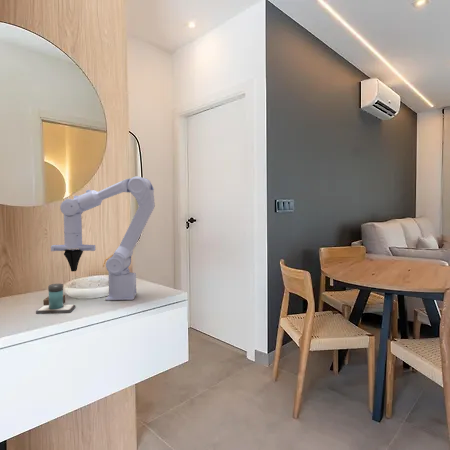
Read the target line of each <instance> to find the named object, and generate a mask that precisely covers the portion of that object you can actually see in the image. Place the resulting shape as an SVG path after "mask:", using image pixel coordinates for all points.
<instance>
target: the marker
mask: <svg viewBox="0 0 450 450" xmlns="http://www.w3.org/2000/svg"><path fill="white" fill-rule="evenodd" d="M63 295H64V284H63V283H52V284H48V296H49V309H59V308H62V307H63V305H64V304H63Z"/></svg>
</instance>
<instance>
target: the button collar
mask: <svg viewBox="0 0 450 450" xmlns="http://www.w3.org/2000/svg"><path fill="white" fill-rule="evenodd" d="M65 303H66V295H65V294H63V305H65ZM44 305H49V295H48V296H47V297H46V298H44V299H43V305H42V306H44Z"/></svg>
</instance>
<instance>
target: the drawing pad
mask: <svg viewBox="0 0 450 450" xmlns="http://www.w3.org/2000/svg"><path fill="white" fill-rule="evenodd" d="M76 307H77V305H76V304H63V307H62V308H59V309H49V305H42V306H41V307H39V308H38V309H37V310H36V311H35V314H36V315H38V314H41V315H42V314H43V315H44V314H70V313H71V312H73V310H74V309H76Z"/></svg>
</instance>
